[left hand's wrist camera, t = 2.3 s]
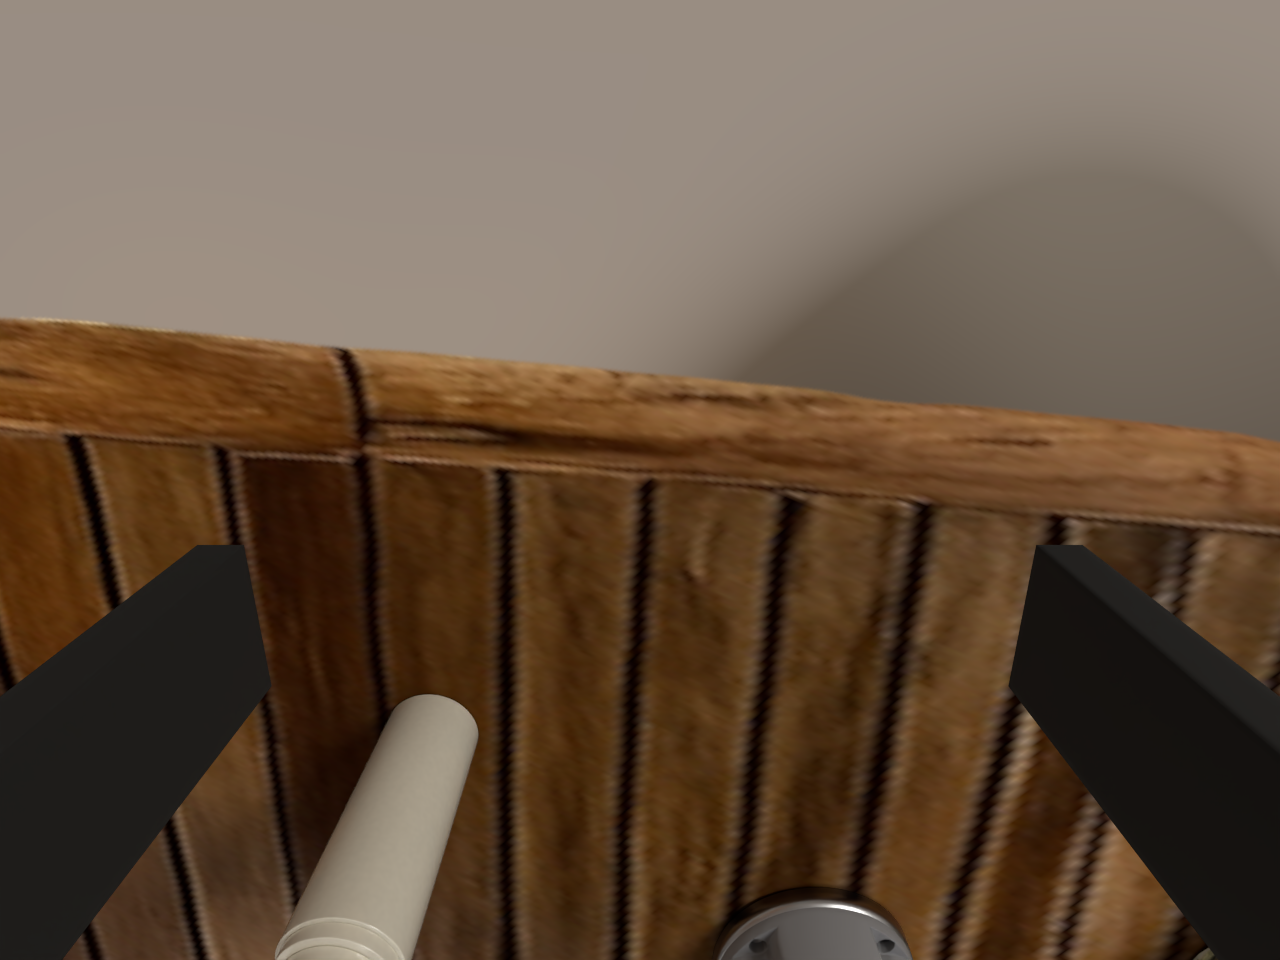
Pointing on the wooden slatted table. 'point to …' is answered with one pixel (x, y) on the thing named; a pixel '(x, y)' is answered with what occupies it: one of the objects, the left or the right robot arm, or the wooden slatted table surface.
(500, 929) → the wooden slatted table surface
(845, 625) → the wooden slatted table surface
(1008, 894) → the wooden slatted table surface
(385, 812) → the bottle
